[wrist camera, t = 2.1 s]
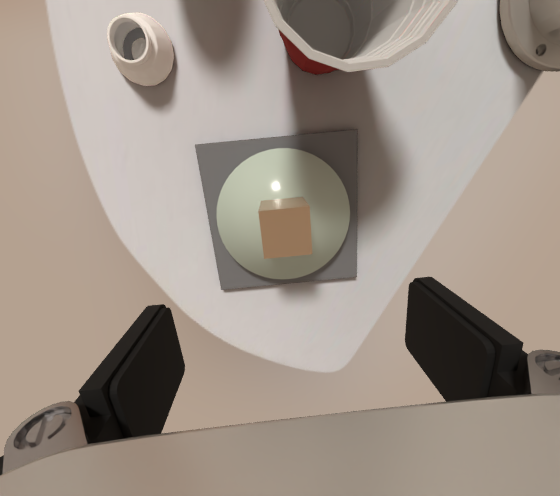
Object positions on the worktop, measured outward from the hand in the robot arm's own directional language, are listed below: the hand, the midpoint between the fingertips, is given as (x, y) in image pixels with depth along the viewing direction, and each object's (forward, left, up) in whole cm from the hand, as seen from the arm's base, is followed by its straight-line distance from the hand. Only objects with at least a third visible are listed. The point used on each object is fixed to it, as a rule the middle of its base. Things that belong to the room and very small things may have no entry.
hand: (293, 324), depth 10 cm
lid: (0, 0, -18) cm, 18 cm away
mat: (0, 0, -18) cm, 18 cm away
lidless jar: (+10, -15, -19) cm, 26 cm away
